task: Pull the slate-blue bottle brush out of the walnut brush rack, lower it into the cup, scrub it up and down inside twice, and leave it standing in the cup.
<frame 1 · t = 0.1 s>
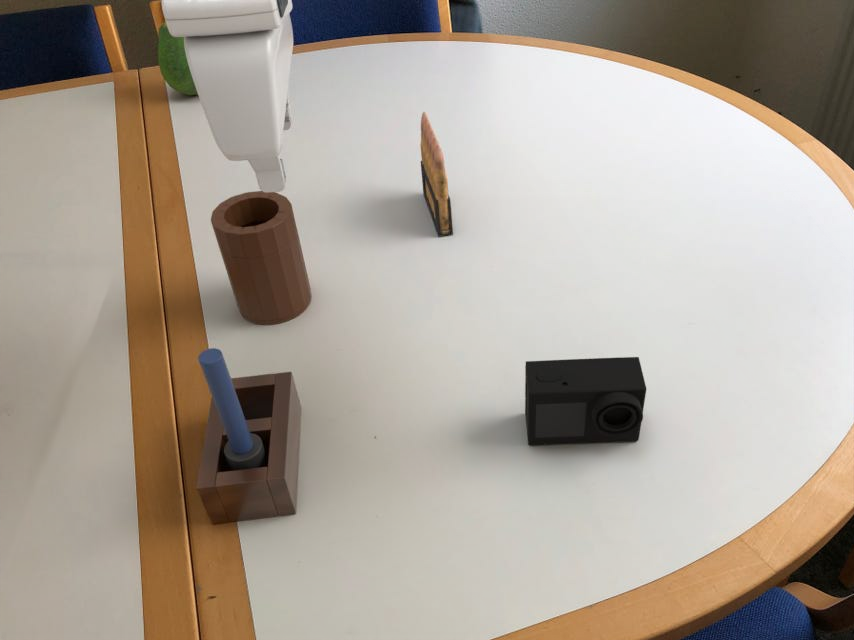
hand: (277, 155, 60), 27 cm above the table, tool pointing down, fingers open, 8 cm apart
fruit: (194, 95, 133), on the table
rack: (259, 462, 73), on the table
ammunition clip: (437, 215, 103), on the table
cup: (275, 301, 91), on the table
digital camera: (580, 433, 75), on the table
brush: (257, 486, 71), resting in rack
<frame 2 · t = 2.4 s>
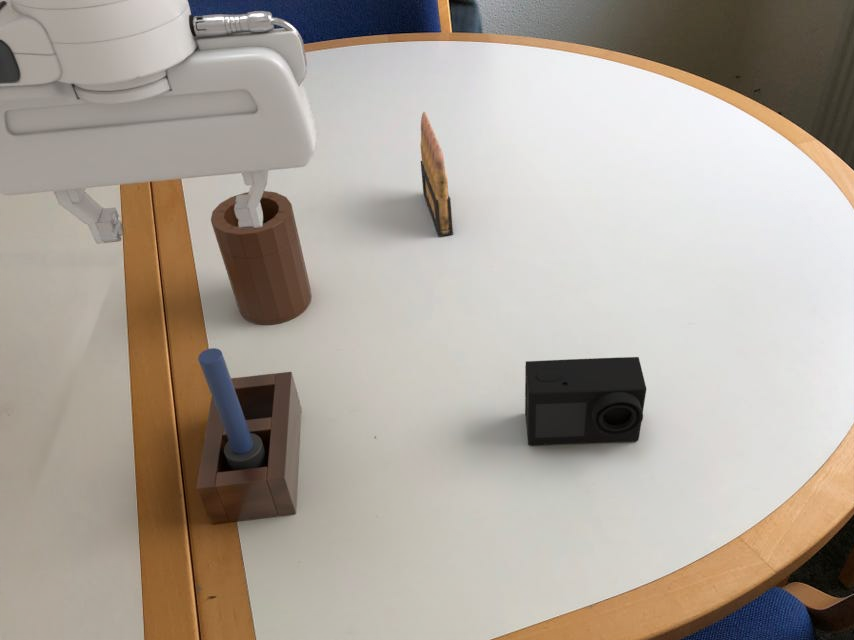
hand: (182, 230, 54), 26 cm above the table, tool pointing down, fingers open, 8 cm apart
nothing on the table moved.
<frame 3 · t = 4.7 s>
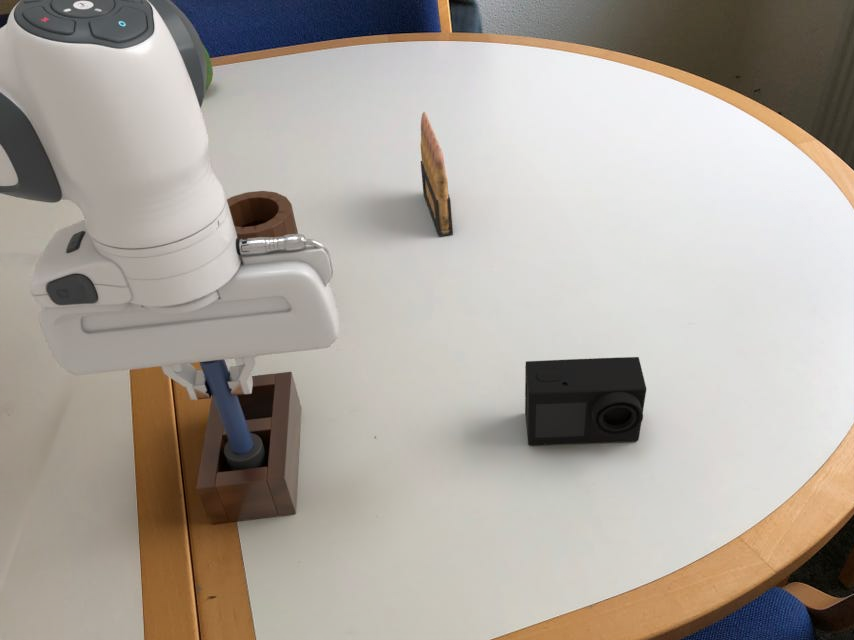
hand: (222, 391, 63), 12 cm above the table, tool pointing down, fingers closed on brush, 2 cm apart
brush: (257, 486, 71), resting in rack, touching gripper
everything else where it was.
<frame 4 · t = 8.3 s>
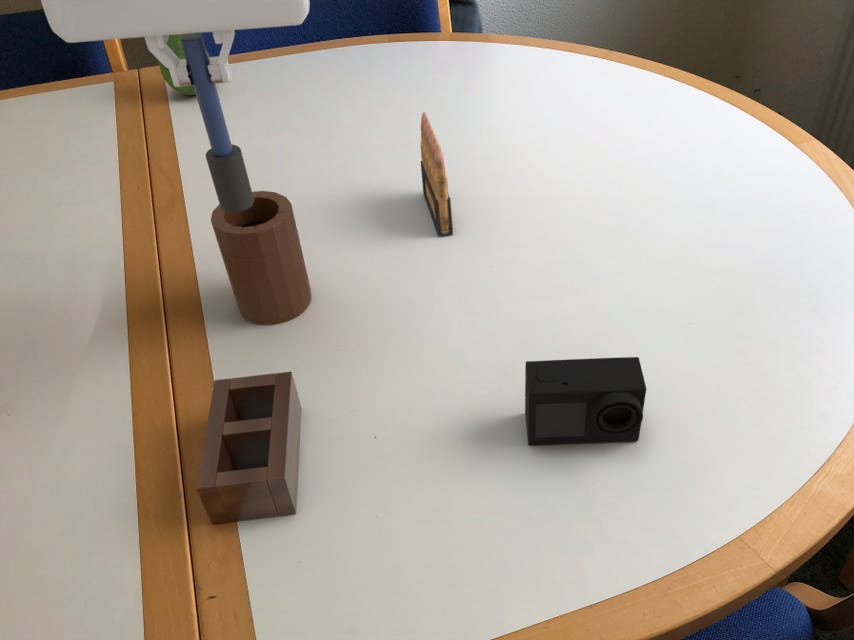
hand: (203, 82, 68), 28 cm above the table, tool pointing down, fingers closed on brush
brush: (237, 204, 76), point 16 cm above the table, touching gripper
everything else where it was.
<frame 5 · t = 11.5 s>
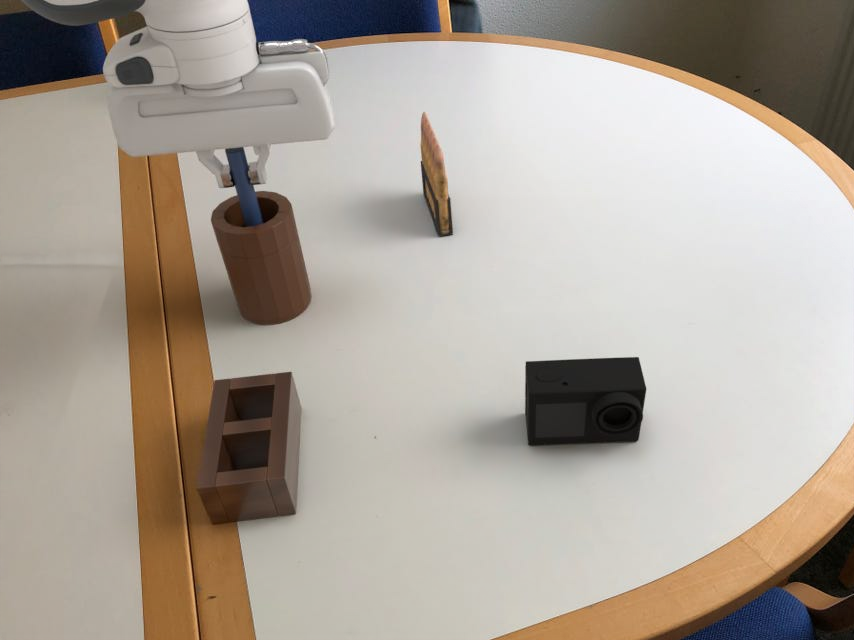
hand: (243, 183, 80), 15 cm above the table, tool pointing down, fingers closed on brush, 2 cm apart
brush: (269, 279, 89), point 3 cm above the table, touching gripper
everything else where it was.
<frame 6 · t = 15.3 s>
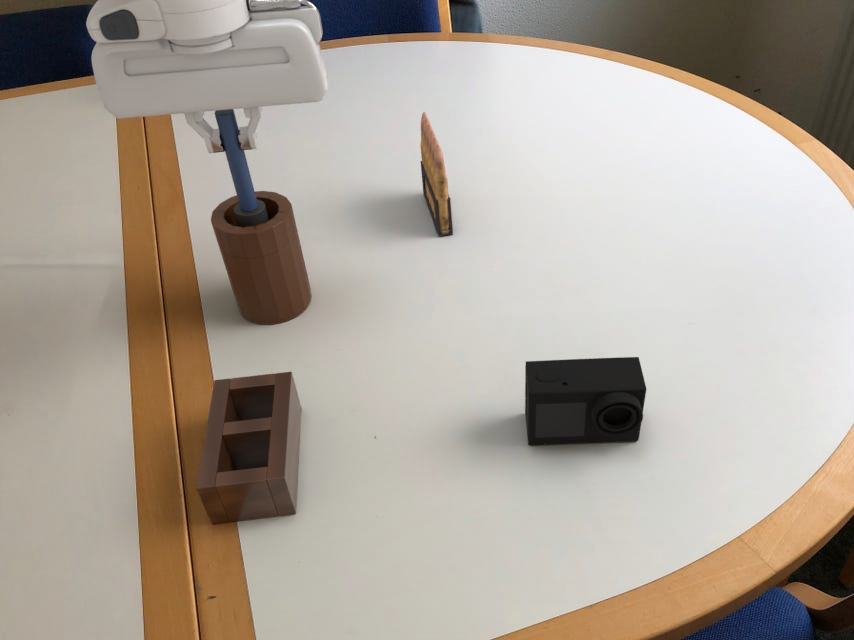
hand: (233, 148, 78), 19 cm above the table, tool pointing down, fingers closed on brush
brush: (260, 250, 86), point 7 cm above the table, touching gripper
everything else where it was.
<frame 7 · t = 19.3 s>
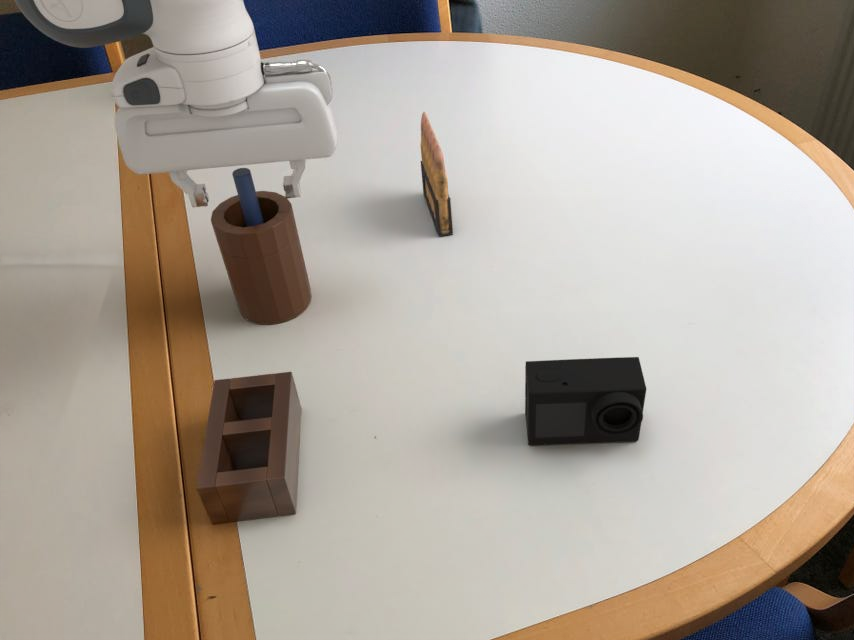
hand: (247, 199, 82), 13 cm above the table, tool pointing down, fingers open, 8 cm apart
brush: (274, 297, 90), point 1 cm above the table, touching cup
everything else where it was.
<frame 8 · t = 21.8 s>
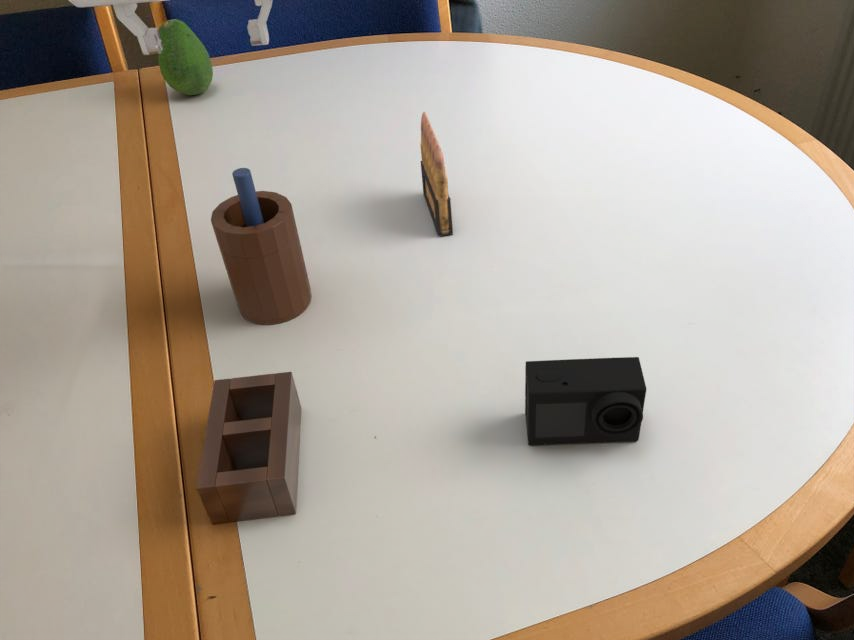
hand: (207, 47, 71), 29 cm above the table, tool pointing down, fingers open, 8 cm apart
nothing on the table moved.
at the end: brush 0.0 cm off-centre in the cup, point 0.6 cm above the cup's base; the gripper is holding nothing; brush moved 26.9 cm from its start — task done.
